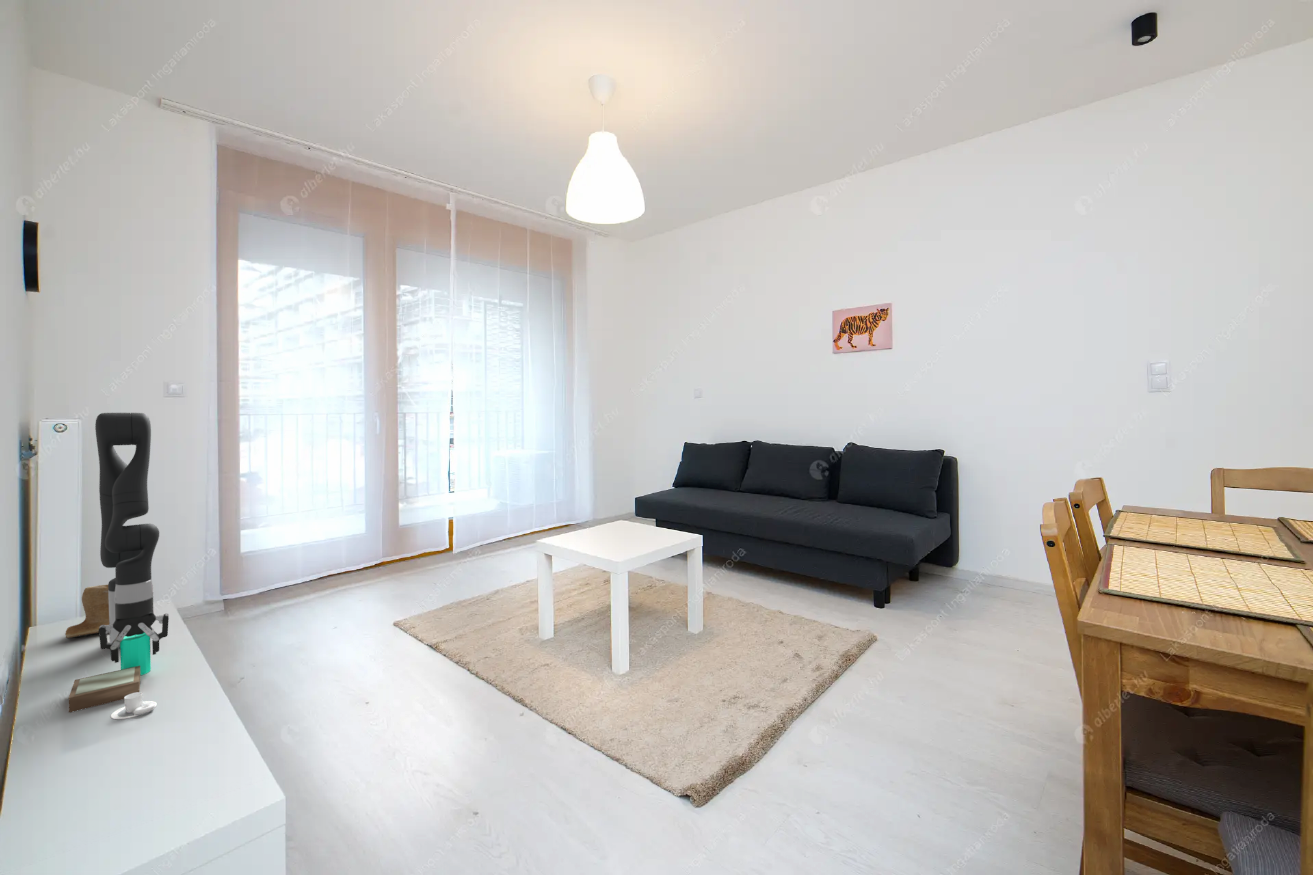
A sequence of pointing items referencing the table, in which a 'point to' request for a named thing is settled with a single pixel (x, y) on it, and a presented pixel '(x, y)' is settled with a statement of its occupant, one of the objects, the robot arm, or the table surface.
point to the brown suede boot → (92, 612)
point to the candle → (136, 652)
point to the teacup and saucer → (134, 706)
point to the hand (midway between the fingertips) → (135, 657)
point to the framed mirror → (104, 688)
